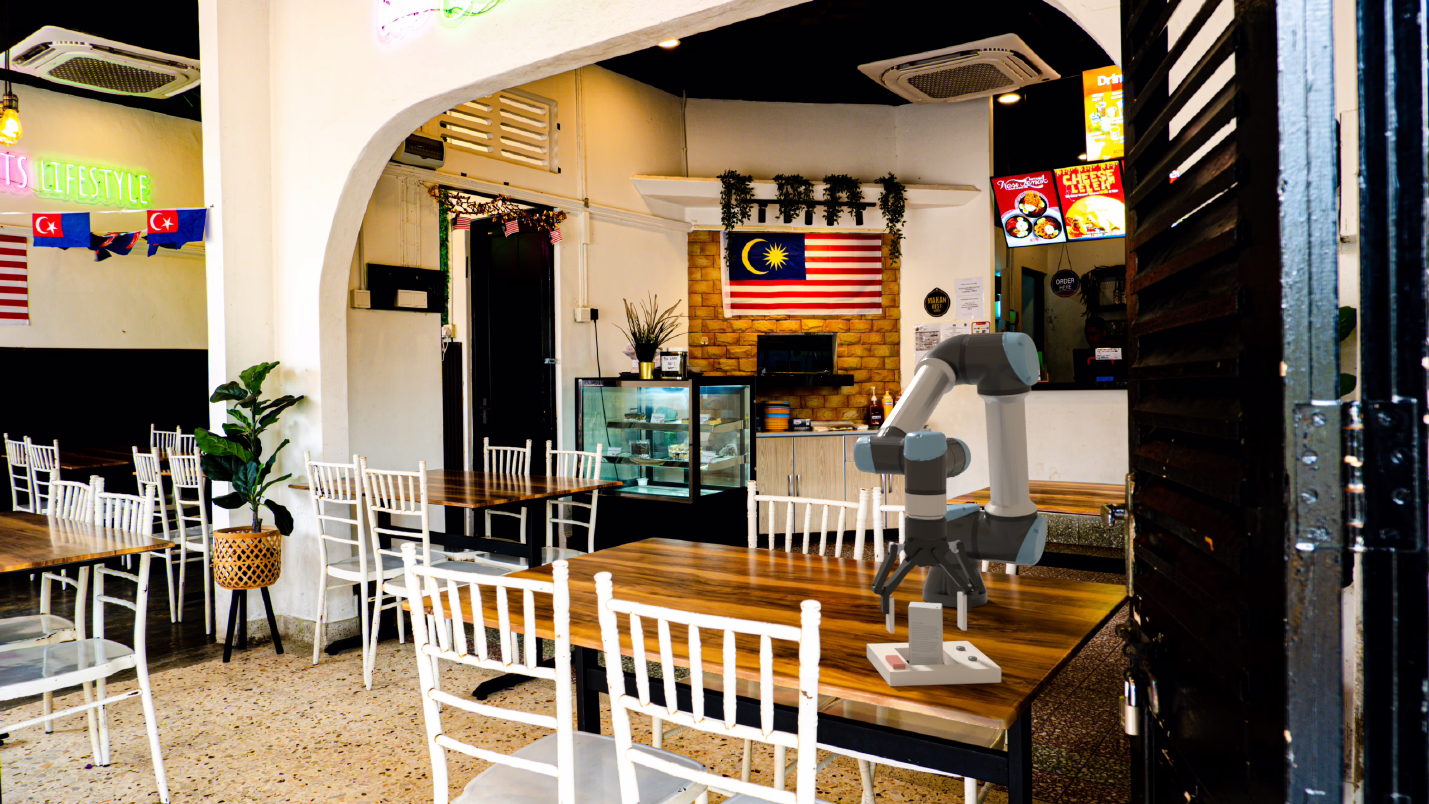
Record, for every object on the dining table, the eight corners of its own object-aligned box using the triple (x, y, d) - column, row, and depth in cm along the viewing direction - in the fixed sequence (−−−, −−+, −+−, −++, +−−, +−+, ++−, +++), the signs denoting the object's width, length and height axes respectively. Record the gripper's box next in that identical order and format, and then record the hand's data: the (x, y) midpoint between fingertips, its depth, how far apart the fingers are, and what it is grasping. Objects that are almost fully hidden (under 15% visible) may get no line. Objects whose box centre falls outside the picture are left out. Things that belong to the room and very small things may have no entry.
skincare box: (943, 667, 159) (943, 603, 159) (942, 674, 155) (942, 609, 155) (909, 664, 161) (909, 600, 160) (908, 671, 157) (907, 606, 156)
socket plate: (967, 653, 166) (967, 636, 166) (1001, 682, 151) (1001, 663, 150) (866, 656, 165) (866, 639, 165) (890, 686, 149) (889, 667, 149)
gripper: (983, 510, 162) (983, 621, 162) (854, 514, 160) (855, 626, 161) (999, 517, 154) (1000, 633, 155) (864, 521, 152) (865, 638, 153)
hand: (926, 629), depth 158 cm, fingers open, 13 cm apart
